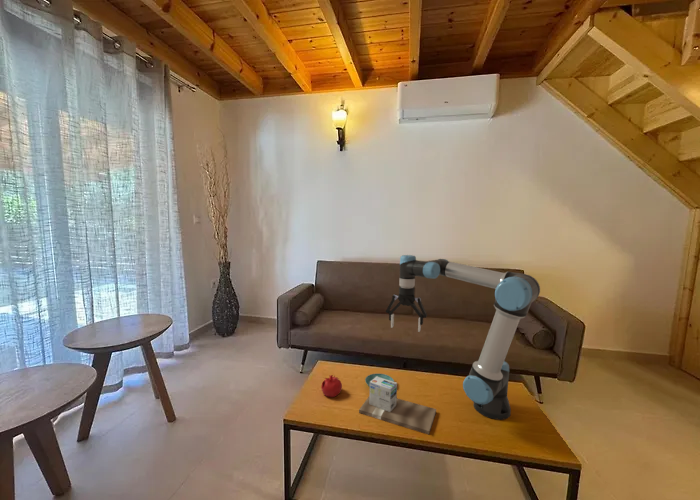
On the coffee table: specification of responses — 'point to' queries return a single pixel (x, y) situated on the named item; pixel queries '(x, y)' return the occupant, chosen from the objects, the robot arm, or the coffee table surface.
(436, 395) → the coffee table surface
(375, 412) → the board
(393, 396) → the light bulb box
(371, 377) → the saucer
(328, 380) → the pomegranate
